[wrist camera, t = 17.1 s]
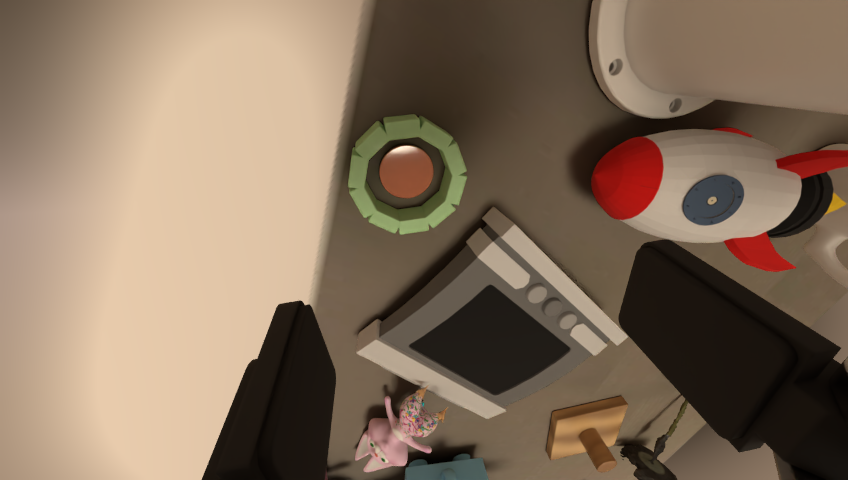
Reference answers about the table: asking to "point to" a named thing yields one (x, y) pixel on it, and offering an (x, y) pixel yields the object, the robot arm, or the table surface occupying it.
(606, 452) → the stand
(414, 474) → the teapot
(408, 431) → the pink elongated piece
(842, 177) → the mug
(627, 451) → the artificial flower
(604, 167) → the toy
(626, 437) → the table surface
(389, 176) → the copper round disc
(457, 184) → the ring
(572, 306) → the grey retro screen device
